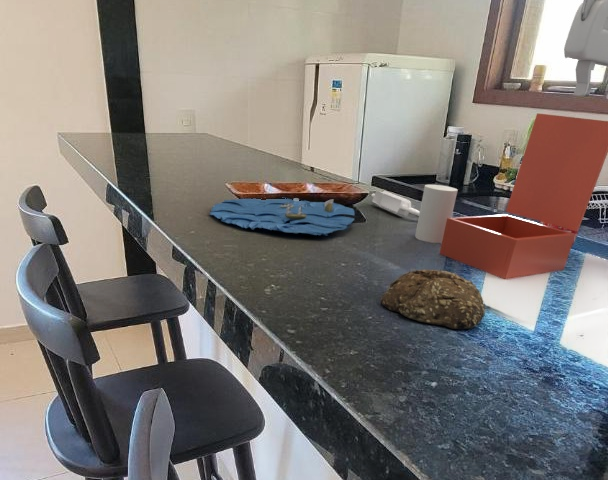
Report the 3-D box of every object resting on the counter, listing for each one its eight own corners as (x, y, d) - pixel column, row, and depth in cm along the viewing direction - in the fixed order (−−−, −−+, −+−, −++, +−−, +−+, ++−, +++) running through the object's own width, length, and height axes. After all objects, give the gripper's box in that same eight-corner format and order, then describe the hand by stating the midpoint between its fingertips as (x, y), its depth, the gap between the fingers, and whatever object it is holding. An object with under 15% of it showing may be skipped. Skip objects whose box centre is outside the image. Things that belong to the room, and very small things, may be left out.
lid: (616, 122, 78) (619, 122, 79) (536, 113, 88) (539, 114, 89) (575, 231, 85) (578, 231, 86) (505, 211, 95) (508, 211, 95)
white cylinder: (429, 237, 103) (440, 184, 98) (451, 245, 99) (464, 190, 94) (407, 239, 100) (418, 184, 95) (430, 248, 96) (442, 191, 91)
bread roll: (478, 300, 72) (488, 265, 70) (485, 336, 61) (497, 295, 59) (385, 285, 74) (391, 250, 72) (376, 316, 63) (383, 277, 61)
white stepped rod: (435, 229, 117) (442, 212, 116) (407, 220, 113) (414, 202, 112) (388, 208, 133) (394, 193, 132) (362, 199, 129) (367, 184, 128)
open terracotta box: (504, 284, 80) (516, 239, 77) (438, 258, 90) (447, 217, 87) (562, 274, 89) (575, 234, 85) (496, 251, 98) (506, 214, 95)
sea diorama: (238, 249, 87) (238, 217, 85) (194, 206, 111) (193, 180, 108) (390, 239, 98) (394, 211, 96) (321, 202, 122) (323, 178, 119)
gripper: (612, -21, 71) (579, 94, 77) (681, 3, 81) (647, 103, 88) (569, -17, 75) (541, 92, 81) (640, 6, 86) (611, 100, 92)
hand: (597, 98), depth 85 cm, fingers open, 8 cm apart
